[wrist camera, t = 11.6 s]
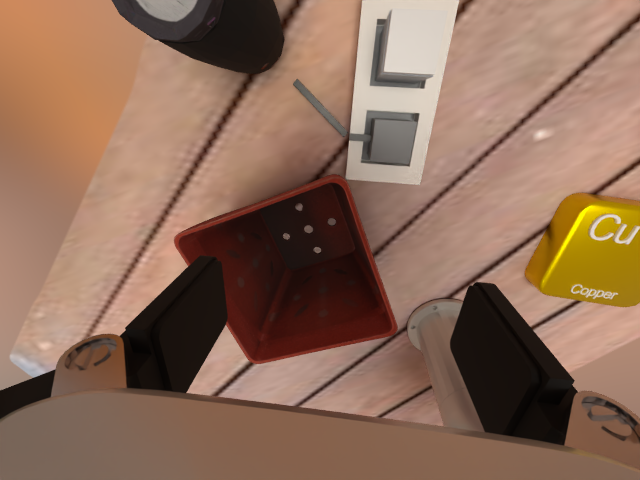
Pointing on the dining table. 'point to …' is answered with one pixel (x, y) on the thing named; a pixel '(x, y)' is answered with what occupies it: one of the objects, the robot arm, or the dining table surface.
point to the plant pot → (295, 272)
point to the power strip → (389, 103)
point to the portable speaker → (212, 30)
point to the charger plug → (410, 45)
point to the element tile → (590, 251)
